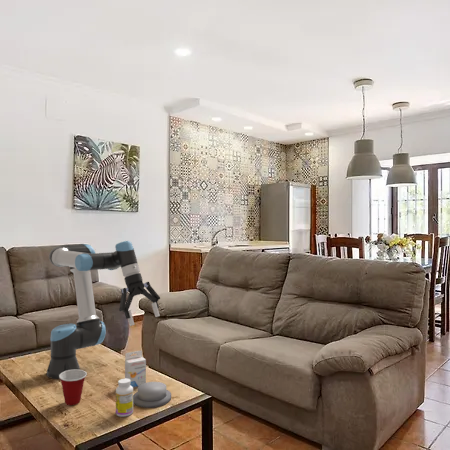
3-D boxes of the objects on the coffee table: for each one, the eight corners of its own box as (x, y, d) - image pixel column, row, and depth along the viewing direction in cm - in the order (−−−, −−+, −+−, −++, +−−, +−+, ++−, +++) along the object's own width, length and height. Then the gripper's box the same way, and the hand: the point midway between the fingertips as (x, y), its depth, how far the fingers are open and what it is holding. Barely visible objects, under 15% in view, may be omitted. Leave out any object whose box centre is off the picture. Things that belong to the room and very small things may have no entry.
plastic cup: (70, 411, 158) (70, 380, 158) (53, 404, 163) (53, 375, 163) (92, 400, 167) (92, 372, 167) (75, 394, 173) (75, 367, 173)
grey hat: (126, 406, 162) (126, 393, 162) (141, 390, 178) (141, 378, 178) (163, 409, 159) (163, 396, 159) (176, 392, 175) (176, 381, 175)
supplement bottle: (117, 409, 159) (117, 377, 159) (134, 409, 159) (134, 376, 159) (114, 417, 152) (114, 384, 152) (131, 417, 153) (131, 383, 153)
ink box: (128, 388, 179) (128, 356, 179) (124, 385, 183) (124, 353, 183) (146, 384, 184) (146, 352, 184) (142, 381, 188) (142, 349, 188)
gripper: (111, 278, 168) (125, 328, 165) (159, 267, 186) (172, 311, 183) (103, 282, 173) (116, 330, 170) (150, 271, 191) (163, 314, 188)
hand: (145, 321), depth 176 cm, fingers open, 13 cm apart
